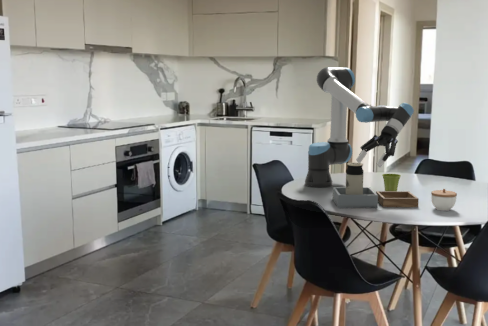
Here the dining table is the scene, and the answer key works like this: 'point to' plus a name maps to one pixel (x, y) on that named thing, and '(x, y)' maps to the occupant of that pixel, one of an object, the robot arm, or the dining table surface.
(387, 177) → the plant pot
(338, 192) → the slate bin
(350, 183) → the travel mug
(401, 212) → the dining table surface
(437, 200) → the lidded jar
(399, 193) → the walnut frame
